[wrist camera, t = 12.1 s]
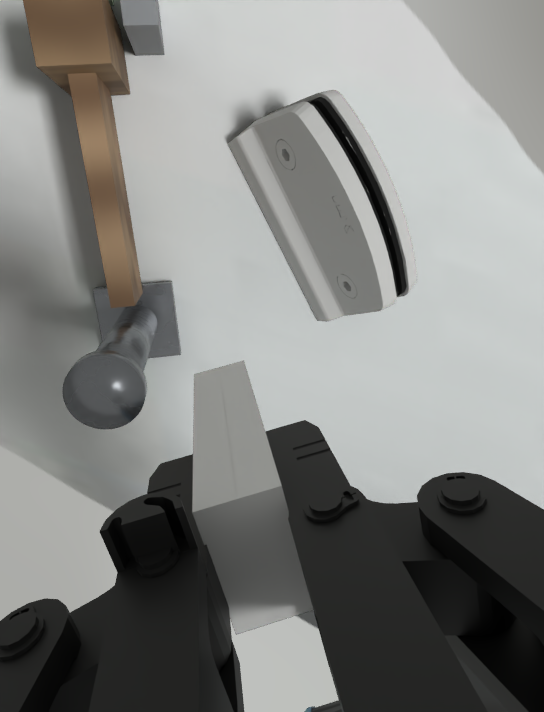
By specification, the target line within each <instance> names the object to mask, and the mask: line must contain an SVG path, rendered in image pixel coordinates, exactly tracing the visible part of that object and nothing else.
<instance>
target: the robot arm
mask: <svg viewBox="0 0 544 712" xmlns="http://www.w3.org/2000/svg"><path fill="white" fill-rule="evenodd" d="M147 493H148V494H146V495H143V496H141V497H138V498H136V499H133V500H131V501H129V502H128V503H126V504H124V505H123V506H121V507H120V508H118V509H117V510H116V511H115V512H114V513H113V514H111V515H110V516H109V517H108V518H107V519H106V521H105V523H104V524H103V526H102V528H101V530H100V534H101V536H102V538H103V540H104V543H105V545H106V547H107V549H108V551H109V554H110V556H111V558H112V561H113V563H114V565H115V567H116V569H117V572H118V574H117V578H116V583H115V586H113V587H112V588H111V589H110V590H108V591H107V592H105V593H104V594H102V595H101V596H99V597H98V598H96V599H94V600H92V601H90V602H89V603H87V604H85V605H83V606H81V607H80V608H78V609H76V610H74V611H72V612H71V613H69V611H68V609H67V607H66V605H64V604H63V603H62V602H61V601H59V600H58V599H42V600H38V601H35V602H31V603H28V604H26V605H25V606H22V607H21V608H18V609H17V610H15V611H13V612H11V613H10V614H9V615H7V616H6V617H5V618H4V619H2V620H1V621H0V712H244V704H243V694H242V684H241V673H240V663H239V660H238V657H237V654H236V651H235V648H234V645H233V642H232V639H231V627H230V619H231V622H232V625H233V628H234V630H235V633H236V634H239V633H243V632H246V631H249V630H252V629H255V628H258V627H261V626H265V625H268V624H271V623H274V622H277V621H280V620H283V619H287V618H290V617H293V616H296V615H299V614H302V613H306V612H309V611H312V610H314V613H315V617H316V621H317V624H318V628H319V631H320V635H321V638H322V642H323V646H324V650H325V653H326V657H327V661H328V664H329V667H330V670H331V674H332V677H333V681H334V684H335V688H336V691H337V695H338V698H339V701H335V702H333V703H329V704H326V705H323V706H319V707H316V708H315V707H309V708H307V709H306V711H305V712H544V510H543V509H542V508H540V507H538V506H537V505H535V504H533V503H531V502H530V501H528V500H526V499H525V498H523V497H521V496H520V495H518V494H516V493H514V492H513V491H511V490H509V489H508V488H506V487H504V486H503V485H501V484H499V483H497V482H496V481H494V480H491V479H489V478H487V477H484V476H482V475H478V474H472V473H465V472H460V473H447V474H444V475H441V476H438V477H435V478H432V479H431V480H429V481H428V482H427V483H425V484H424V485H423V486H422V487H421V489H420V491H419V493H418V495H417V499H418V502H413V503H398V504H386V503H379V502H373V501H370V500H368V499H366V497H365V496H364V495H363V494H362V493H361V492H360V491H359V490H358V489H356V488H354V487H351V486H350V484H349V482H348V480H347V479H346V477H345V475H344V473H343V471H342V469H341V468H340V466H339V464H338V462H337V460H336V458H335V457H334V455H333V453H332V451H331V450H330V447H329V446H328V444H327V442H326V441H325V438H324V436H323V435H322V433H321V431H320V429H319V427H317V426H315V425H313V424H311V423H309V422H307V421H306V420H304V421H300V422H297V423H293V424H290V425H287V426H283V427H280V428H276V429H273V430H269V431H266V432H265V429H264V426H263V422H262V419H261V416H260V412H259V409H258V406H257V403H256V399H255V396H254V393H253V389H252V386H251V383H250V379H249V376H248V373H247V369H246V366H245V363H244V361H240V362H237V363H233V364H229V365H226V366H222V367H219V368H215V369H211V370H208V371H204V372H201V373H197V374H194V420H193V454H192V455H189V456H185V457H182V458H178V459H175V460H172V461H168V462H165V463H161V464H160V465H159V466H158V468H157V469H156V471H155V472H154V473H153V475H152V476H151V477H150V480H149V486H148V492H147Z"/></svg>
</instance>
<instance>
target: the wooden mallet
mask: <svg viewBox="0 0 544 712" xmlns="http://www.w3.org/2000/svg"><path fill="white" fill-rule="evenodd" d="M23 3H24V8H25V13H26V18H27V23H28V28H29V33H30V38H31V43H32V47H33V52H34V57H35V62H36V67H38V68H39V69H40V70H41V71H42V72H43V73H45V74H46V75H47V76H48V77H49V78H50V79H52V80H53V81H54V82H55V83H56V84H57V85H59V86H60V87H61V88H62V89H63V90H64V91H66V92H67V93H68V94H69V95H70V96H71V97H72V101H73V106H74V111H75V117H76V122H77V128H78V133H79V138H80V144H81V149H82V155H83V160H84V166H85V171H86V176H87V182H88V187H89V193H90V198H91V203H92V209H93V214H94V220H95V225H96V230H97V236H98V241H99V247H100V252H101V257H102V263H103V268H104V274H105V279H106V284H107V290H108V295H109V301H110V306H111V308H118V307H127V306H135V305H136V303H137V302H138V300H139V298H140V297H141V295H142V293H143V291H142V285H141V279H140V272H139V266H138V260H137V254H136V248H135V242H134V235H133V229H132V223H131V217H130V211H129V204H128V198H127V192H126V186H125V180H124V174H123V167H122V161H121V155H120V149H119V143H118V136H117V130H116V124H115V118H114V112H113V106H112V99H111V95H125V94H130V89H129V82H128V75H127V69H126V62H125V55H124V49H123V42H122V35H121V29H120V27H119V24H118V22H117V20H116V17H115V15H114V13H113V11H112V8H111V6H110V4H109V1H108V0H23Z"/></svg>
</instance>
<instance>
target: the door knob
mask: <svg viewBox="0 0 544 712" xmlns="http://www.w3.org/2000/svg"><path fill="white" fill-rule="evenodd" d="M141 285H142V291H143V293H142V295H141V297H140V298H139V300H138V302H137V303H136V305H135V306H127V307H118V308H111V306H110V301H109V295H108V290H107V287H96V288H94V289H93V292H94V298H95V303H96V309H97V314H98V320H99V325H100V331H101V336H102V343H101V344H100V346H99V347H98V349H97V350H96V351H95V352H92V353H89V354H87V355H85V356H83V357H82V358H81V359H79V360H78V361H77V362H76V363H75V365H74V366H73V367H72V369H71V370H70V371H69V373H68V374H67V376H66V378H65V381H64V384H63V398H64V402H65V404H66V407H67V408H68V410H69V412H70V413H71V414H72V415H73V416H74V417H75V418H76V419H77V420H79V421H80V422H81V423H83V424H85V425H87V426H90V427H93V428H97V429H114V428H118V427H121V426H123V425H126V424H127V423H129V422H131V421H132V420H133V419H134V418H135V417H136V416H137V415H138V414H139V412H140V411H141V409H142V407H143V404H144V400H145V397H146V392H147V382H146V378H145V375H144V373H143V371H144V368H145V364H146V361H147V358H155V357H165V356H174V355H181V348H180V340H179V332H178V325H177V317H176V309H175V301H174V294H173V286H172V281H166V282H155V283H143V284H141Z"/></svg>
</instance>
